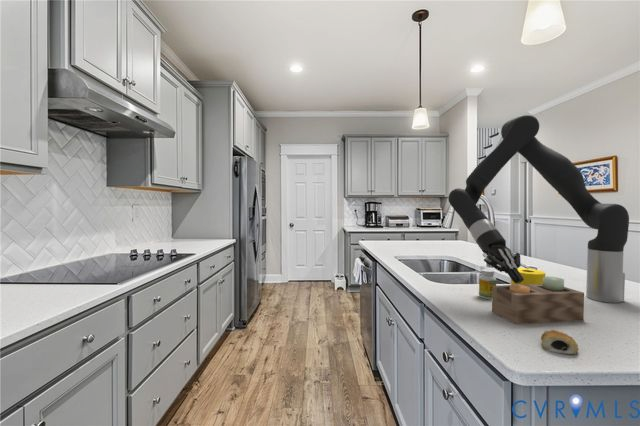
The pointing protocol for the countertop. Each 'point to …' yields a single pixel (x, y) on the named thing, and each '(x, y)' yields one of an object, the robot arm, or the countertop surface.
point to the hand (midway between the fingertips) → (519, 281)
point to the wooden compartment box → (538, 304)
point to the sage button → (553, 283)
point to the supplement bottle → (486, 283)
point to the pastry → (559, 342)
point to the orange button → (520, 288)
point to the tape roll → (530, 276)
